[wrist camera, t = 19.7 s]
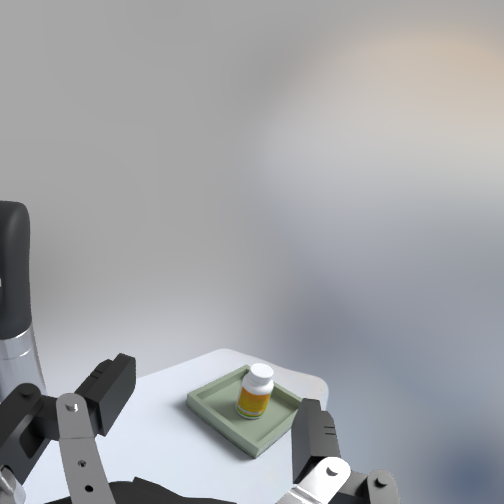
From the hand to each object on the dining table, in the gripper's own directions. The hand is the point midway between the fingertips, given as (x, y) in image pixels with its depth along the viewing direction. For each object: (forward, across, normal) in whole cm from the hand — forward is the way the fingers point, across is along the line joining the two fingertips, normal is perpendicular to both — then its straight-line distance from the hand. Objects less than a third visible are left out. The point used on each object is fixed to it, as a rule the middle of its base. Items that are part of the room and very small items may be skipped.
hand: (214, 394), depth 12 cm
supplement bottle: (+30, -5, +29) cm, 42 cm away
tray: (+30, -5, +30) cm, 43 cm away
